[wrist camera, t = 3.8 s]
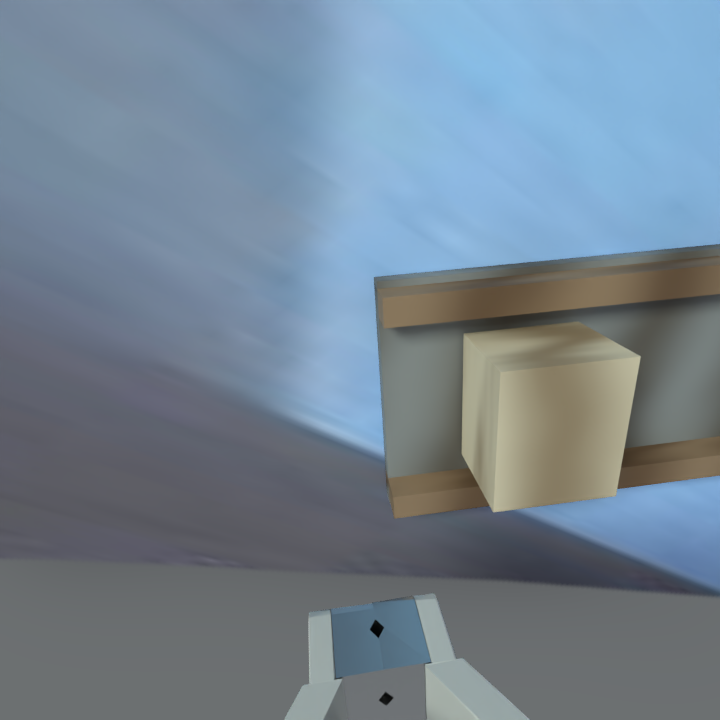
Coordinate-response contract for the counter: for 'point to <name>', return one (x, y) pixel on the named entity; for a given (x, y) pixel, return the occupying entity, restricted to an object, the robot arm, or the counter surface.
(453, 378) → the chute
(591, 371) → the birch block
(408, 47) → the counter surface
